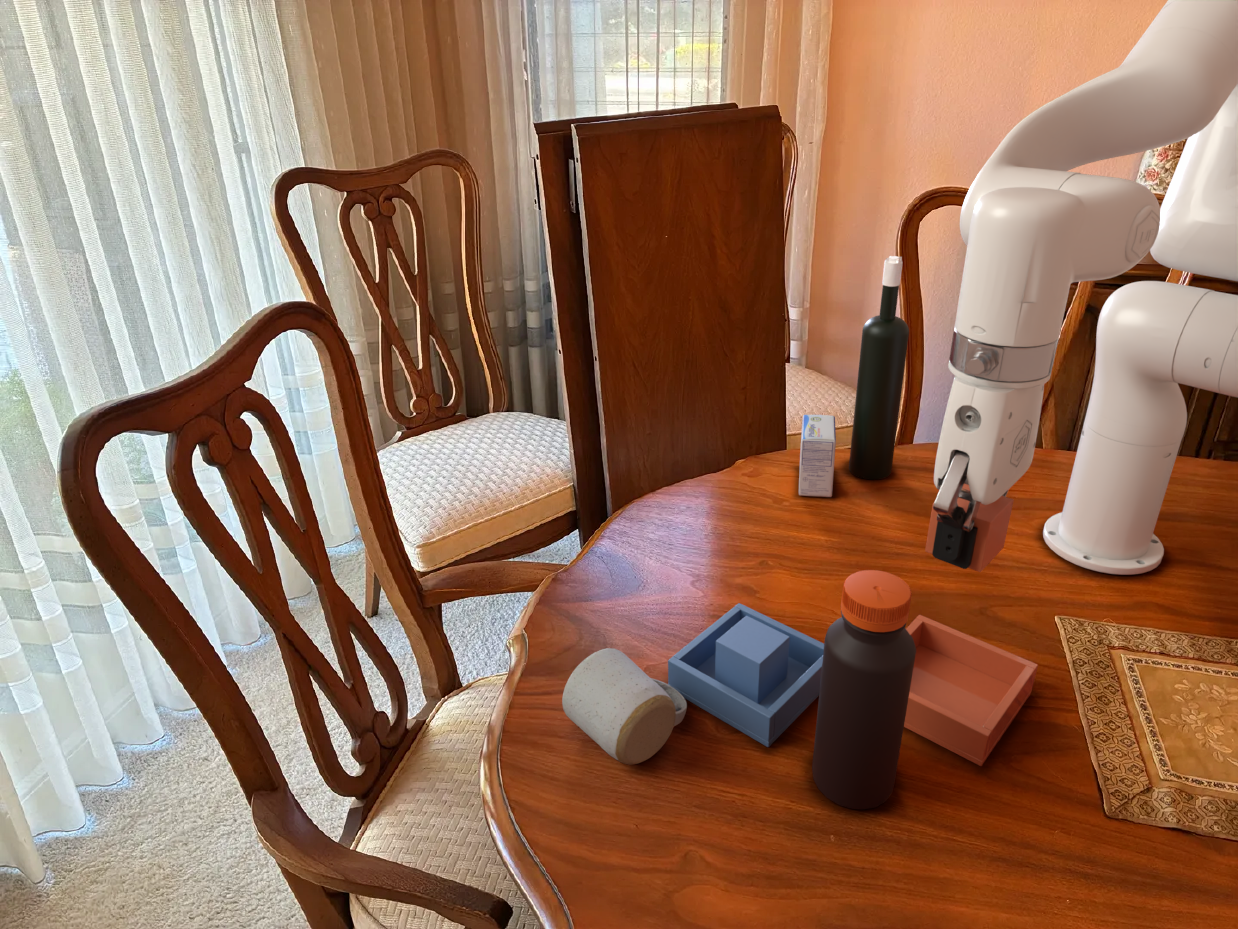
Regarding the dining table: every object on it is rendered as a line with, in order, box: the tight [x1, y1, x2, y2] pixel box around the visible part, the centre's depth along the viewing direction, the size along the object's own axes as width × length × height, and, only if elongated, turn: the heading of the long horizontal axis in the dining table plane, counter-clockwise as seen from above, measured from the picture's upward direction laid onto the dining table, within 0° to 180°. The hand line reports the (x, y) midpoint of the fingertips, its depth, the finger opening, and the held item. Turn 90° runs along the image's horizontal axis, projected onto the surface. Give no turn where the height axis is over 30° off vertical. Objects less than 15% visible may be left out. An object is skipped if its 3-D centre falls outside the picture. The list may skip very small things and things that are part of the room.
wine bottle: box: [848, 255, 910, 481], centre depth 113 cm, size 6×6×30 cm
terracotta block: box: [924, 484, 1015, 573], centre depth 75 cm, size 5×5×5 cm
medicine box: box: [798, 414, 837, 498], centre depth 115 cm, size 8×4×9 cm, turn 168°
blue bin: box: [667, 602, 824, 748], centre depth 83 cm, size 12×12×4 cm
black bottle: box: [811, 569, 916, 810], centre depth 68 cm, size 7×7×20 cm
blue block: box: [715, 616, 790, 704], centre depth 82 cm, size 5×5×5 cm
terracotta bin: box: [904, 614, 1039, 767], centre depth 80 cm, size 12×12×4 cm
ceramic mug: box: [561, 647, 688, 766], centre depth 77 cm, size 11×8×8 cm
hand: (965, 545), depth 76 cm, fingers closed on terracotta block, 5 cm apart
